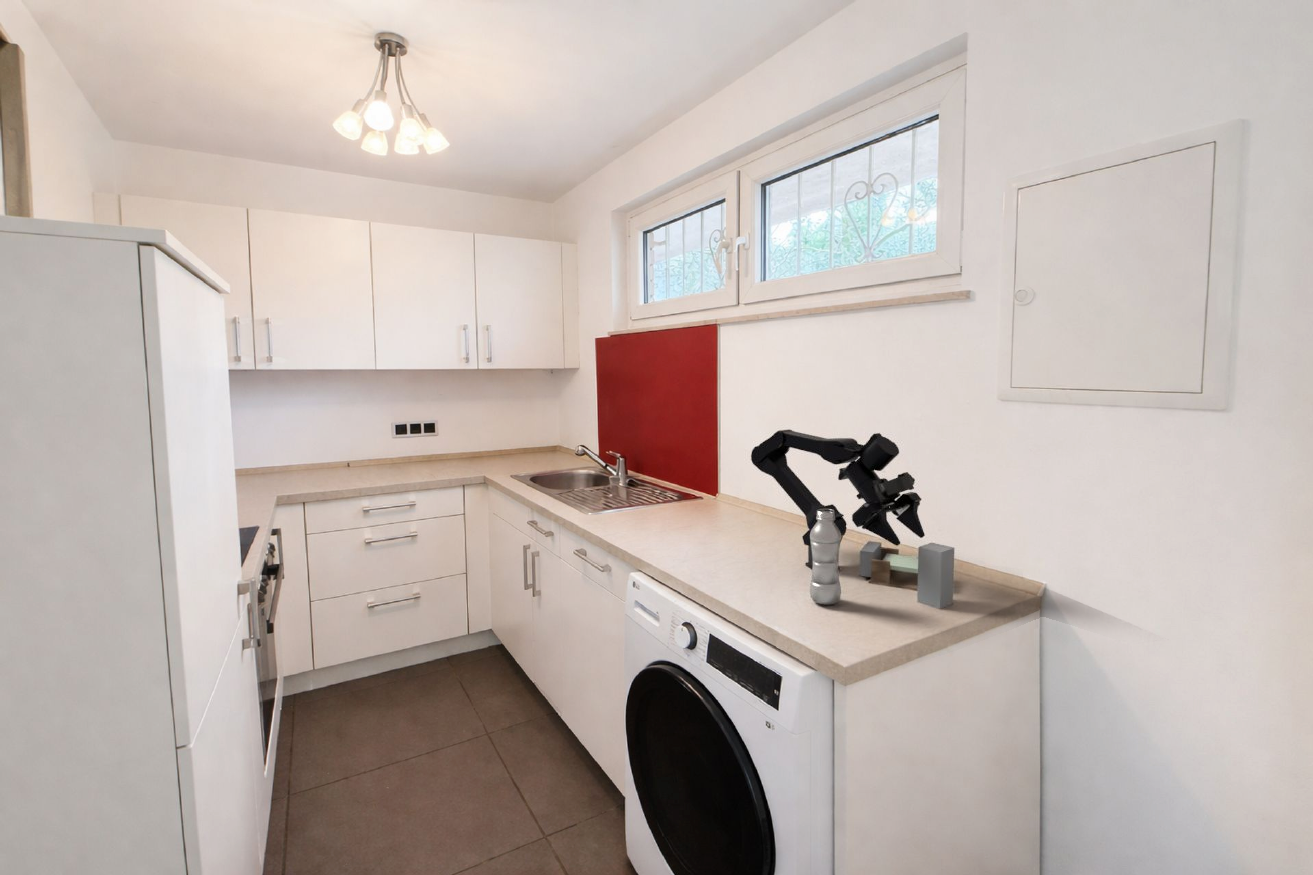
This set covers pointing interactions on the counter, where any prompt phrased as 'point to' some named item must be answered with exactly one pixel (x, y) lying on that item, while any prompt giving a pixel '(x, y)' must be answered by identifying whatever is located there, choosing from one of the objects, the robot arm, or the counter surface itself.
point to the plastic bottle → (825, 559)
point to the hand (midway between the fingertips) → (911, 540)
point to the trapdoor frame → (891, 573)
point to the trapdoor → (896, 561)
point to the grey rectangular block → (935, 575)
